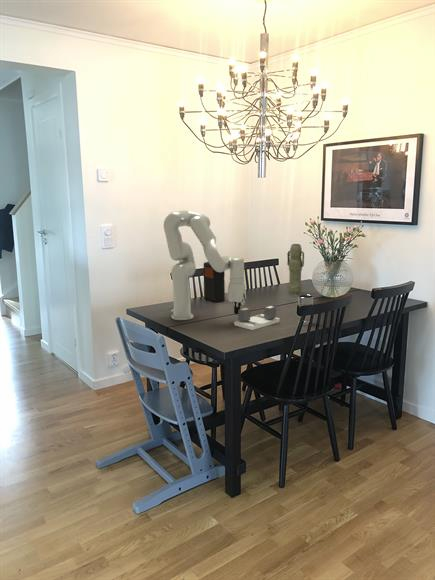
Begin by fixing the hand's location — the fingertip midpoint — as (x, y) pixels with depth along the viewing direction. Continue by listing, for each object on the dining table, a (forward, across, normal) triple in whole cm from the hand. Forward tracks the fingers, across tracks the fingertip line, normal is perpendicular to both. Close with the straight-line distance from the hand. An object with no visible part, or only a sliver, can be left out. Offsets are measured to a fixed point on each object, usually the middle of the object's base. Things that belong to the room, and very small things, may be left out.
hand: (237, 313), depth 252 cm
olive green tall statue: (+6, -21, +78) cm, 82 cm away
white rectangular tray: (+5, +9, +6) cm, 12 cm away
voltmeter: (+5, -50, +29) cm, 57 cm away
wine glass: (+6, +26, +25) cm, 37 cm away
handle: (+3, +12, +13) cm, 18 cm away
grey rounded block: (+3, +5, 0) cm, 6 cm away
